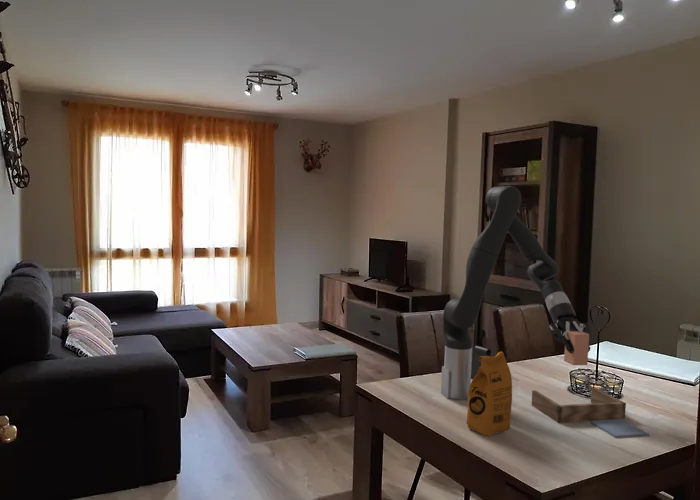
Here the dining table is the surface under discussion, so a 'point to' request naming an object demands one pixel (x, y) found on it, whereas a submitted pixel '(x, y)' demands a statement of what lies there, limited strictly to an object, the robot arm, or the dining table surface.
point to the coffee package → (490, 396)
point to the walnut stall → (581, 408)
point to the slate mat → (619, 428)
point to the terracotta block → (578, 348)
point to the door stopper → (475, 362)
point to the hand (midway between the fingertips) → (580, 351)
